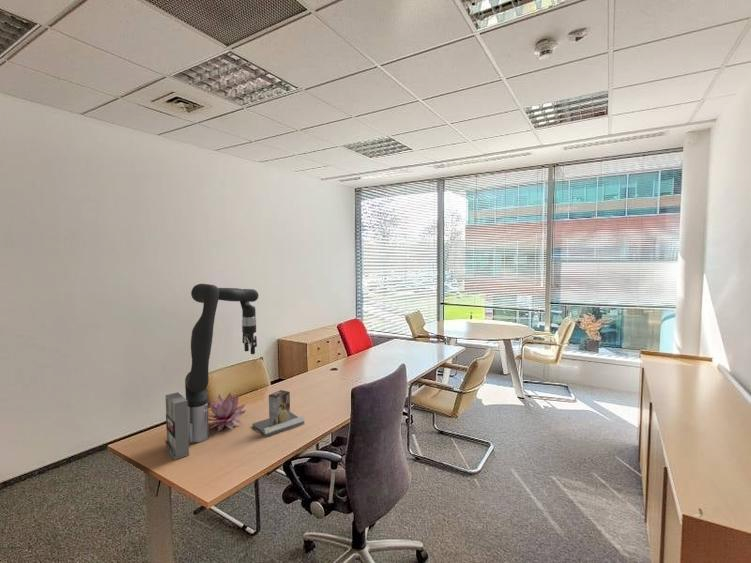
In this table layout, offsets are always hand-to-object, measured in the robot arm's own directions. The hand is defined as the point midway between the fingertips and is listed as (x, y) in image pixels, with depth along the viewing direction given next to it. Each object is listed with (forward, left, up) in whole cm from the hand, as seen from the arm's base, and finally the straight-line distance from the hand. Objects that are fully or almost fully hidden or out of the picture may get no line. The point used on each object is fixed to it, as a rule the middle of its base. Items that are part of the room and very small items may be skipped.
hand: (249, 352), depth 207 cm
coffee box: (+4, -28, -33) cm, 43 cm away
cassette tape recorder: (-43, -21, -34) cm, 59 cm away
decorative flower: (-18, -9, -34) cm, 40 cm away
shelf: (+4, -27, -34) cm, 43 cm away
